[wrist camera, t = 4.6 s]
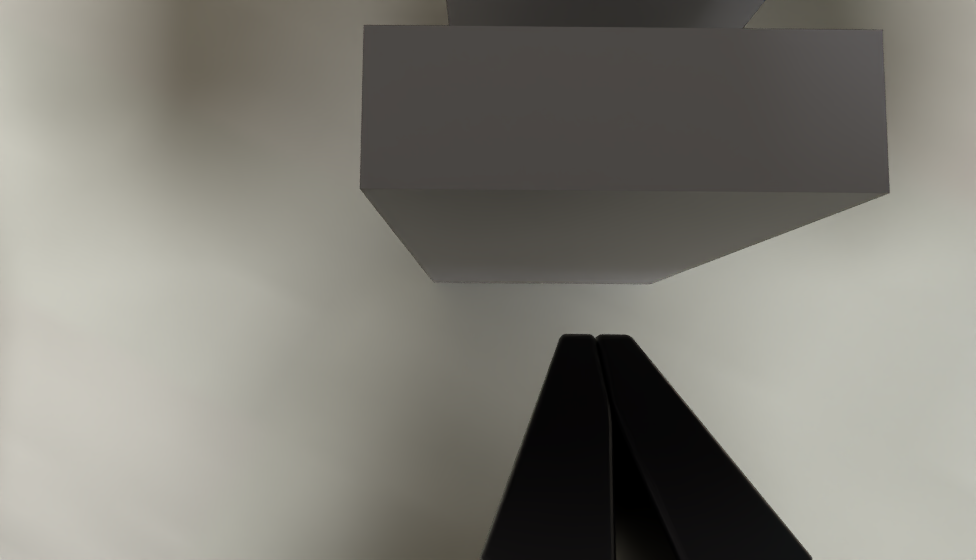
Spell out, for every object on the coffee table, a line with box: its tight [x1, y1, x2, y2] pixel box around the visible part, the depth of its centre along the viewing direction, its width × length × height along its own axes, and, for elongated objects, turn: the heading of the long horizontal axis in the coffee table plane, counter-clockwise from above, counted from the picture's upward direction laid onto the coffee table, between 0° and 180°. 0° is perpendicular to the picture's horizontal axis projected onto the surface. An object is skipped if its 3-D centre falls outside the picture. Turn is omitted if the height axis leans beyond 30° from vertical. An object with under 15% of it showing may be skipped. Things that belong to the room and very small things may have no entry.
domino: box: [360, 25, 890, 284], centre depth 12 cm, size 2×5×10 cm, turn 90°
